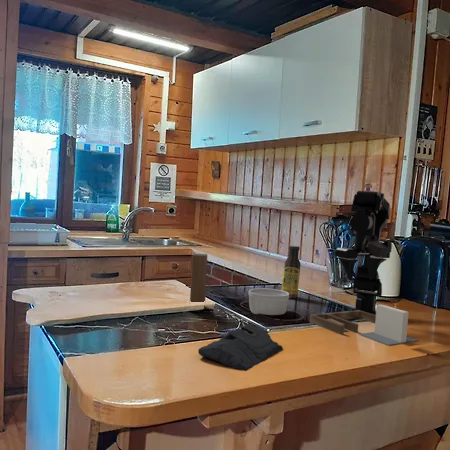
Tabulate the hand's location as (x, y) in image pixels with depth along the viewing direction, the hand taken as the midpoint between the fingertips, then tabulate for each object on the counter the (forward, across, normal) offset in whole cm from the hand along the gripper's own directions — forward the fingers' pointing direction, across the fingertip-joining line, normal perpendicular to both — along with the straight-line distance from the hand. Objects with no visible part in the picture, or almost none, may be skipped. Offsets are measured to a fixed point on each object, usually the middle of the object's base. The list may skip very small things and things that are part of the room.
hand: (360, 280), depth 147 cm
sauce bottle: (+13, 0, +35) cm, 38 cm away
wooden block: (+13, -43, +28) cm, 53 cm away
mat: (+13, -8, -19) cm, 24 cm away
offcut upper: (+12, -16, -6) cm, 21 cm away
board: (+12, -8, -19) cm, 24 cm away
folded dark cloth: (+14, -52, -13) cm, 55 cm away
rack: (+13, -9, -6) cm, 17 cm away
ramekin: (+13, -23, +17) cm, 32 cm away
